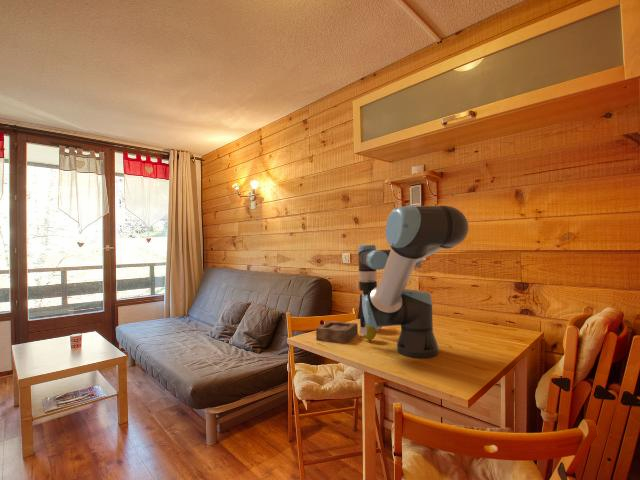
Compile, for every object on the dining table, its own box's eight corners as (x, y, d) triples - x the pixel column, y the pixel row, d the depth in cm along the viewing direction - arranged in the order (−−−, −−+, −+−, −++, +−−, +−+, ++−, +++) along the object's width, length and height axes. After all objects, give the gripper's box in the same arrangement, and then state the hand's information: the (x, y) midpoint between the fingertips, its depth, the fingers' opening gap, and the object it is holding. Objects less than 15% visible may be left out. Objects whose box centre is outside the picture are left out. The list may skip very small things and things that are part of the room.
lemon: (360, 341, 140) (359, 322, 140) (369, 338, 143) (368, 320, 143) (370, 343, 135) (369, 324, 135) (378, 341, 139) (378, 322, 139)
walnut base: (357, 334, 149) (357, 323, 149) (346, 343, 137) (345, 331, 137) (330, 331, 155) (329, 320, 155) (316, 339, 143) (316, 328, 143)
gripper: (368, 277, 152) (369, 322, 152) (348, 284, 130) (350, 337, 130) (384, 277, 149) (385, 324, 149) (366, 285, 127) (368, 339, 127)
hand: (369, 330), depth 140 cm, fingers open, 13 cm apart
